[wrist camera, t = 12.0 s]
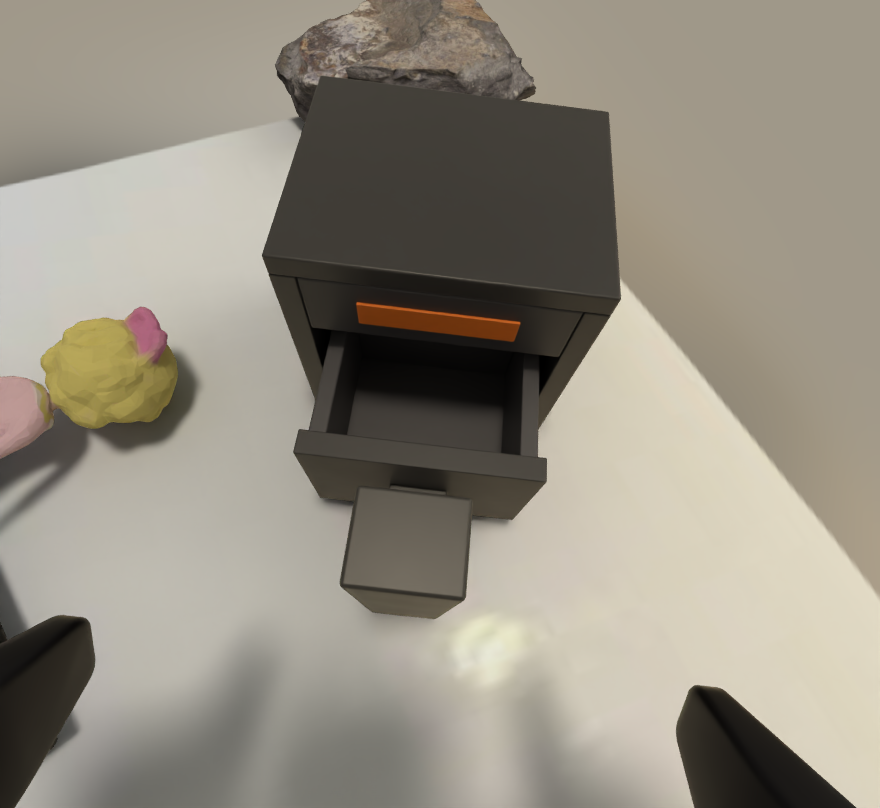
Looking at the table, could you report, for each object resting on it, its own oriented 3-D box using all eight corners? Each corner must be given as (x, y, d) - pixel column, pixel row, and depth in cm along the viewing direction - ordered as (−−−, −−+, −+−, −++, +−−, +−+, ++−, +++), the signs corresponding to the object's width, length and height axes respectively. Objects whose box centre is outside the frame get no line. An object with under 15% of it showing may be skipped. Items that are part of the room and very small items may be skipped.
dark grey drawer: (508, 628, 19) (608, 617, 9) (297, 604, 18) (192, 570, 9) (518, 372, 23) (592, 199, 14) (349, 352, 23) (313, 165, 14)
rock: (462, 36, 36) (469, -61, 31) (563, 126, 32) (589, 30, 27) (272, 98, 32) (246, -3, 27) (360, 209, 28) (348, 114, 23)
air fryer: (536, 435, 23) (622, 302, 14) (317, 409, 23) (259, 258, 14) (539, 292, 26) (609, 111, 17) (349, 269, 26) (319, 74, 17)
